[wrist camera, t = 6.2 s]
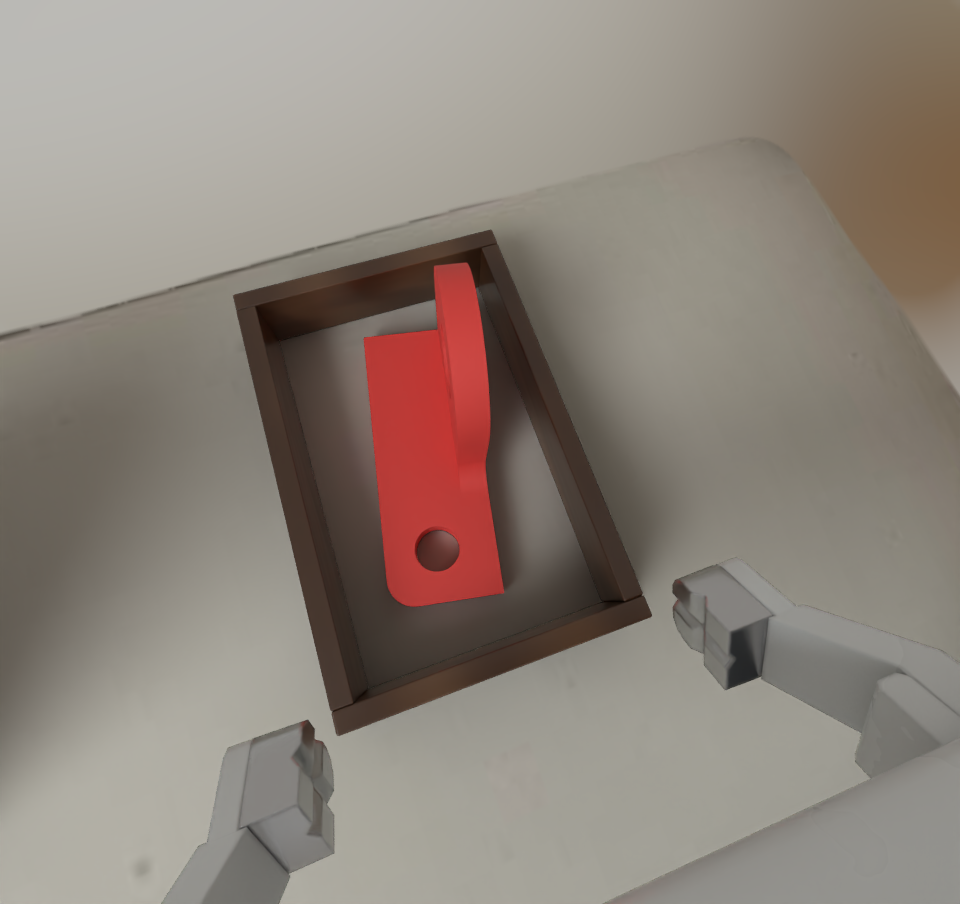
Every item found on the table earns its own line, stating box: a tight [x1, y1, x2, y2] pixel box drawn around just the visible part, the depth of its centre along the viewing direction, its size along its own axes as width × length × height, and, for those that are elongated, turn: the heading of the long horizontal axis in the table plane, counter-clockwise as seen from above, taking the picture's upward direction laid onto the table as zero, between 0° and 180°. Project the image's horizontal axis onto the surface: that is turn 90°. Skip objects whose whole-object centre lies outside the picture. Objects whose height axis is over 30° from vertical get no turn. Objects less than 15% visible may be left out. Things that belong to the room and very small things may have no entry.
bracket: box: [364, 263, 504, 607], centre depth 19 cm, size 12×4×8 cm, turn 9°
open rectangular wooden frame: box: [233, 230, 652, 736], centre depth 21 cm, size 12×18×3 cm, turn 19°
